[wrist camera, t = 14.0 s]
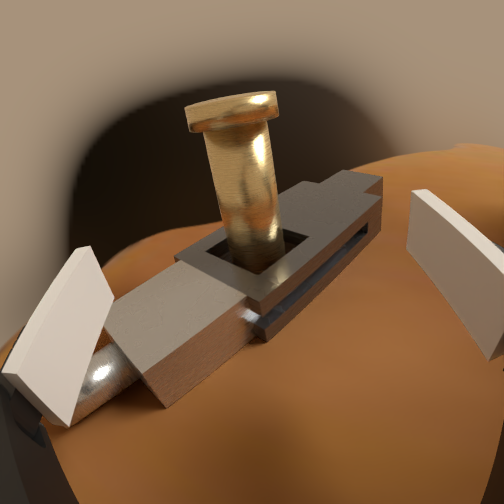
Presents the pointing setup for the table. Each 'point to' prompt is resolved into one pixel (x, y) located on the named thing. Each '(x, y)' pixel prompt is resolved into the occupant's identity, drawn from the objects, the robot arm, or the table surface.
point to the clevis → (230, 294)
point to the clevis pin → (243, 174)
